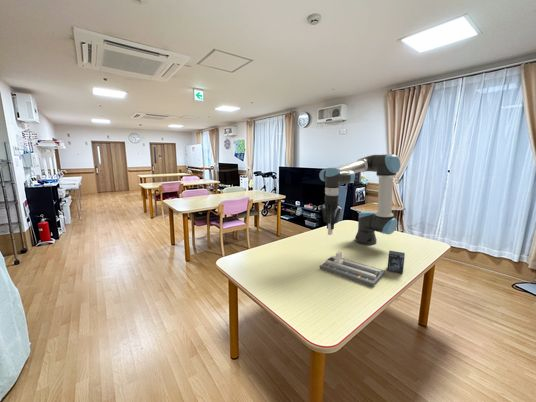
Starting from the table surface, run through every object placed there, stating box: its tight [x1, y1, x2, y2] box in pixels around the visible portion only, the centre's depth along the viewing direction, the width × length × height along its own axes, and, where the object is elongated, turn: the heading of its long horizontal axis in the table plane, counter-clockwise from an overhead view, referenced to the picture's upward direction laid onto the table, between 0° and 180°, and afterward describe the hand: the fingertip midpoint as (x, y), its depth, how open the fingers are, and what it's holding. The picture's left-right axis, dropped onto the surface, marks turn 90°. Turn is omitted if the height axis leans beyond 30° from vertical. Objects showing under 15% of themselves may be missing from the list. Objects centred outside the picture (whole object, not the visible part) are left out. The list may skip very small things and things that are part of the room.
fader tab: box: [334, 250, 343, 264], centre depth 139 cm, size 4×4×7 cm
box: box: [386, 250, 406, 275], centre depth 134 cm, size 8×6×11 cm
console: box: [319, 255, 386, 288], centre depth 134 cm, size 18×30×4 cm, turn 48°
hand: (330, 234), depth 140 cm, fingers closed
